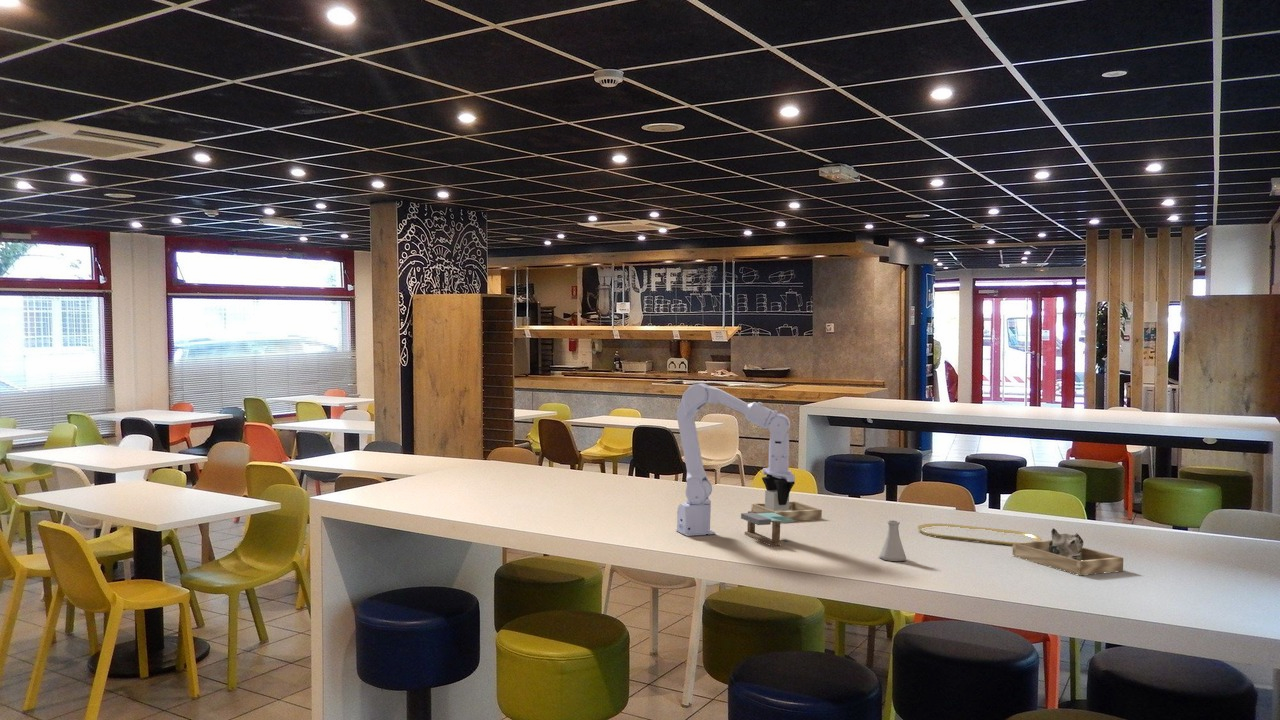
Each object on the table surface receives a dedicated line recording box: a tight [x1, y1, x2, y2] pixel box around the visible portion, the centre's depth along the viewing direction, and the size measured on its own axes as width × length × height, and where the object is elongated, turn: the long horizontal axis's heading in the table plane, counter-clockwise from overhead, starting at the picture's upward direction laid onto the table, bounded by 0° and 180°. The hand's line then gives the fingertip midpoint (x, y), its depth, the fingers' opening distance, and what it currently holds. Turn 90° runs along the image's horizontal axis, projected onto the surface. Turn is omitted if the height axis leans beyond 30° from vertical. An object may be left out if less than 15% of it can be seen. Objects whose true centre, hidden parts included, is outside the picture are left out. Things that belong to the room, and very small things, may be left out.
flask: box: [878, 519, 907, 562], centre depth 236 cm, size 7×7×10 cm
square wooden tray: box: [750, 501, 823, 522], centre depth 293 cm, size 17×16×3 cm
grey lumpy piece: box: [1049, 528, 1084, 561], centre depth 235 cm, size 16×9×10 cm, turn 160°
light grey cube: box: [764, 490, 790, 511], centre depth 257 cm, size 5×5×5 cm
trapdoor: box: [740, 512, 795, 526], centre depth 256 cm, size 11×12×2 cm
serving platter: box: [917, 523, 1043, 546], centre depth 267 cm, size 19×35×2 cm, turn 65°
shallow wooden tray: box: [1011, 539, 1124, 576], centre depth 235 cm, size 15×22×4 cm
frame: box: [744, 510, 782, 547], centre depth 255 cm, size 3×17×7 cm, turn 22°
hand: (777, 503), depth 257 cm, fingers closed on light grey cube, 5 cm apart
